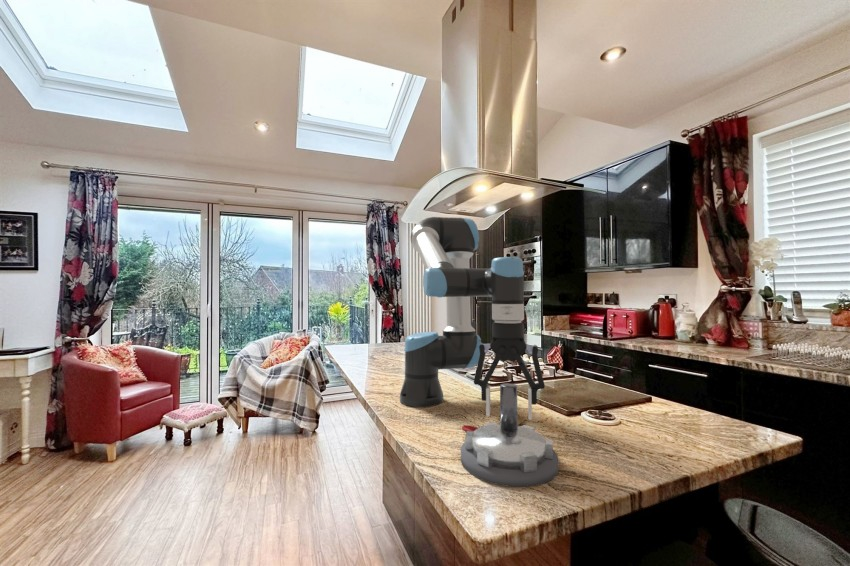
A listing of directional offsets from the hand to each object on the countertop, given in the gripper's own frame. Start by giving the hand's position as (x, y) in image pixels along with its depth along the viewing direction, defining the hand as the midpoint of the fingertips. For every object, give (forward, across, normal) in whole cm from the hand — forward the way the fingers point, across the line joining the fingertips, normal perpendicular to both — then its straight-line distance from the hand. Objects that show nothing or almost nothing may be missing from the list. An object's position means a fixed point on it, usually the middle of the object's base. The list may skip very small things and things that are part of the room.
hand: (508, 415), depth 85 cm
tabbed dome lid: (+6, 0, -6) cm, 8 cm away
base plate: (+8, 0, -6) cm, 10 cm away
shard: (+9, +1, +19) cm, 21 cm away
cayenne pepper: (+9, -10, +8) cm, 15 cm away
